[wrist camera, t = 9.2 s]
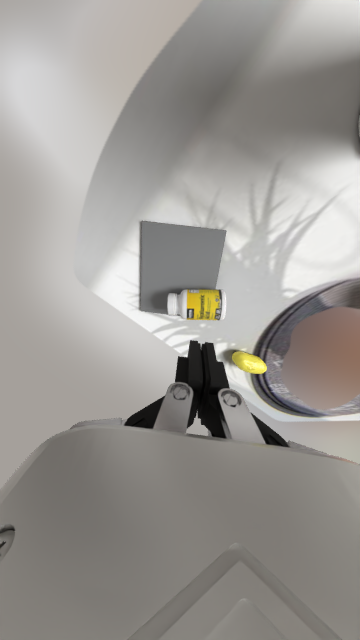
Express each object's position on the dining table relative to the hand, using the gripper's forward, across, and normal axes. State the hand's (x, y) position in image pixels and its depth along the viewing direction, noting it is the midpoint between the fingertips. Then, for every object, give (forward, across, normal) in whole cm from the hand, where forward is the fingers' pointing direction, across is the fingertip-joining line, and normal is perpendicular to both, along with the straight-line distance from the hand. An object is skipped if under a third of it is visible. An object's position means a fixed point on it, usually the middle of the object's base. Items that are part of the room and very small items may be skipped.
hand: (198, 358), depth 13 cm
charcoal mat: (+22, +3, -2) cm, 22 cm away
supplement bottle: (+18, -6, +2) cm, 19 cm away
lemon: (+22, -14, +14) cm, 30 cm away
